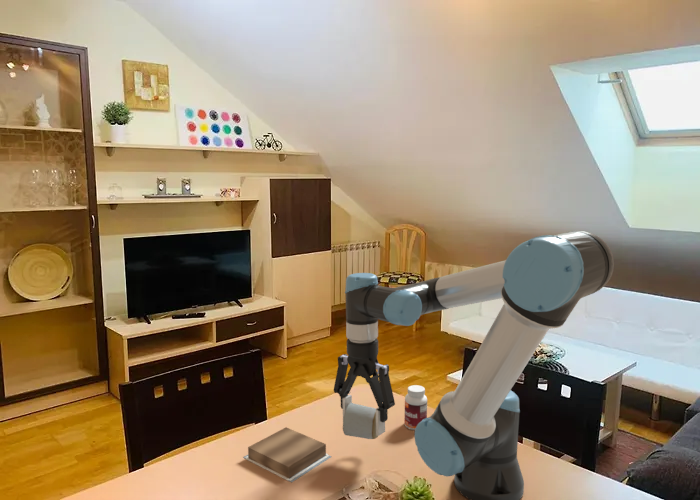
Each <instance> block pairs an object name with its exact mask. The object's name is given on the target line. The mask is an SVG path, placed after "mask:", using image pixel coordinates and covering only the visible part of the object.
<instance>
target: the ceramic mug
mask: <svg viewBox="0 0 700 500" xmlns="http://www.w3.org/2000/svg"><path fill="white" fill-rule="evenodd" d="M342 431H343V434H344V435H345V436H349V437H355V438H362V439H367V440H375V439H377V438H378V437H379V436H377V435H376V408H375V407H372V406H366V405H361V404H358V403H354V402H352V403H350V404H349V405H348V406H347V408H346V410H345V413H344V418H343V417H342Z"/></svg>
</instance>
